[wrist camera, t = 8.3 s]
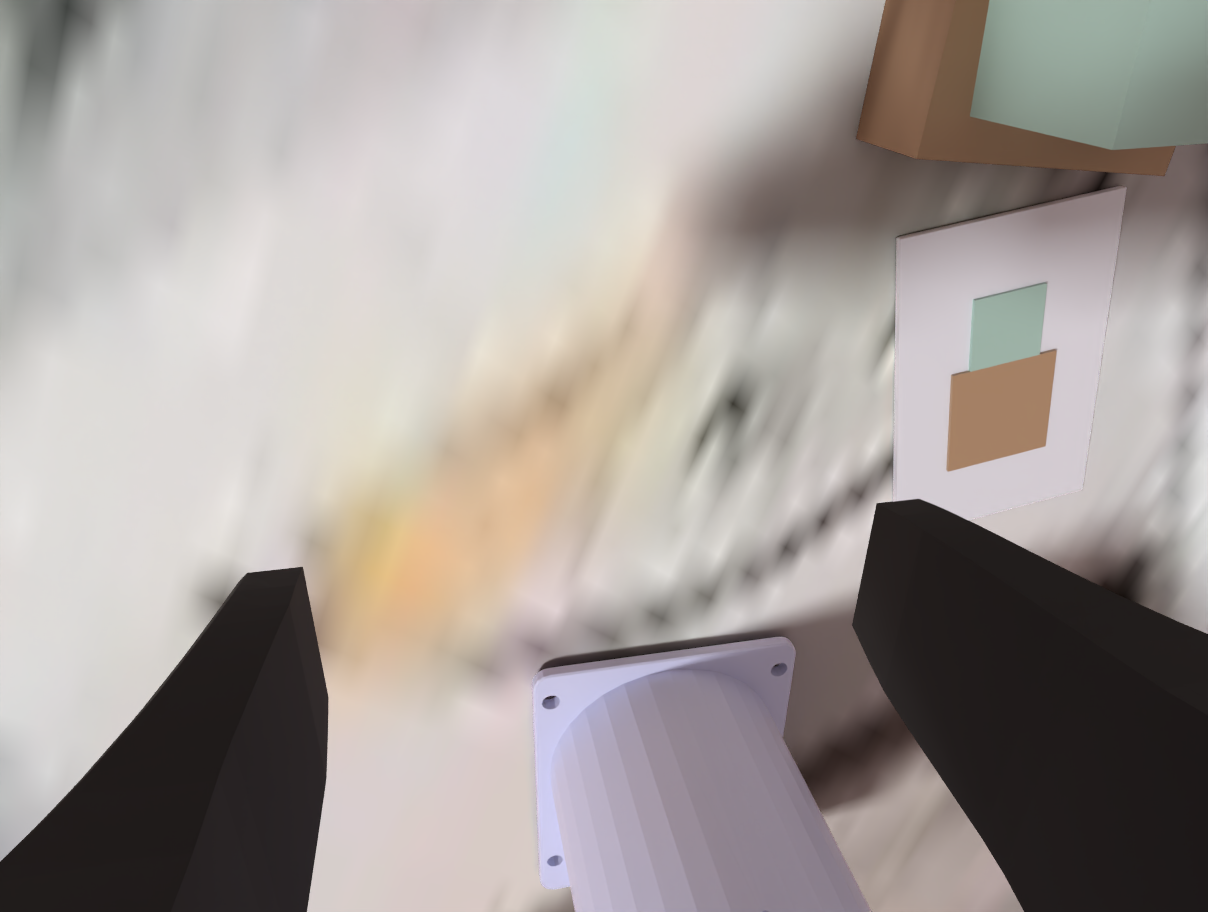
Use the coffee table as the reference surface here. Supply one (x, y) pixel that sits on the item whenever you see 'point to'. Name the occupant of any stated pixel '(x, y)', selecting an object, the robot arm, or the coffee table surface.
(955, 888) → the coffee table surface
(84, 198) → the coffee table surface
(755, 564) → the coffee table surface
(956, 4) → the walnut brick
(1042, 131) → the green brick
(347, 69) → the coffee table surface
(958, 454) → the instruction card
